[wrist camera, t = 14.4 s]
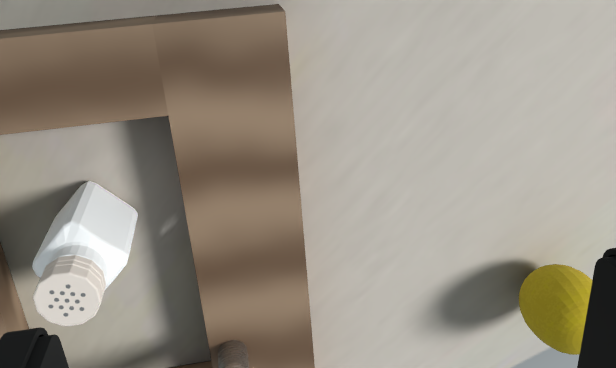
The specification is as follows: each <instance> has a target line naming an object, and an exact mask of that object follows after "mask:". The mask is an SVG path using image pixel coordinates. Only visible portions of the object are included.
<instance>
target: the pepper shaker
mask: <svg viewBox="0 0 616 368" xmlns="http://www.w3.org/2000/svg"><path fill="white" fill-rule="evenodd" d="M137 217H138V213H137V211H136V210H135V209H134V208H133V207H132V206H130V205H129V204H127V203H126V202H124V201H123V200H121V199H119V198H118V197H116V196H115V195H113V194H112V193H110V192H109V191H107V190H106V189H104V188H103V187H101V186H100V185H98V184H97V183H95V182H92V181H88V182H86V183H84V184H82V185H81V186H80V187H79V189H78V190H77V191H76V192H75V193H74V195H73V196H72V197H71V198H70V200H69V201H68V202H67V203H66V204H65V206H64V207H63V208H62V209H61V210H60V212H59V213H58V214H57V215H56V217H55V218H54V220H53V222H52V224H51V226H50V228H49V230H48V232H47V234H46V236H45V238H44V240H43V242H42V244H41V246H40V248H39V250H38V252H37V254H36V256H35V258H34V260H33V266H32V268H33V270H34V271H35V273H36V275H37V276H38V277H40V280H39V283H38V285H37V287H36V290H35V292H34V295H33V300H34V304H35V307H36V311H37V312H38V313H39V314H40V315H42V316H43V317H44V318H45V319H46V320H47V321H48V322H51V323H55V324H58V325H62V326H73V325H81V324H83V323H85V322H86V321H88V320H89V319H91V318H92V317H94V316H95V315H96V313H97V311H98V309H99V306H100V304H101V302H102V298H103V294H104V290H105V289H106V288H107V287H108V286H109V285H110V284H111V283H112V281H113V280H114V279H115V278H116V277H117V275H118V274H119V273H120V272H121V270H122V269H123V268H124V267H125V265H126V264H127V261H128V257H129V253H130V249H131V244H132V239H133V235H134V230H135V226H136V221H137Z"/></svg>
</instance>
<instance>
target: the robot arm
mask: <svg viewBox="0 0 616 368" xmlns="http://www.w3.org/2000/svg"><path fill="white" fill-rule="evenodd" d="M0 368H69V367H68V363H67V360H66V357H65V354H64V351H63V348H62V345H61V342H60V339H59V337H58V336H57V335H49V336H48V334H47V331H46V330H45V329H44V328H34V329H27V330H19V331H12V332H6V333H5V334H3V336H2V337H1V338H0ZM577 368H616V248H612V249H609V250H607V251H606V252H605V253H604V255H603V258H601V259H598V261H597V262H596V265H595V269H594V275H593V281H592V286H591V292H590V298H589V303H588V309H587V315H586V321H585V326H584V332H583V338H582V343H581V349H580V355H579V361H578V366H577Z"/></svg>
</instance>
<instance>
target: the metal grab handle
mask: <svg viewBox="0 0 616 368" xmlns="http://www.w3.org/2000/svg"><path fill="white" fill-rule="evenodd" d="M218 368H249V361H248V351H247V347H246V345H245V344H244V343H243V342H241V341H239V340H229V341H226V342H224V343H223V344H222V345H221V346H220V347H219V349H218Z"/></svg>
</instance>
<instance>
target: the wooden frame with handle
mask: <svg viewBox="0 0 616 368" xmlns="http://www.w3.org/2000/svg"><path fill="white" fill-rule="evenodd" d="M161 116H169V122H170V128H171V134H172V139H173V145H174V151H175V156H176V162H177V168H178V173H179V179H180V185H181V190H182V196H183V202H184V207H185V213H186V219H187V225H188V230H189V236H190V242H191V247H192V253H193V259H194V264H195V270H196V276H197V281H198V287H199V293H200V298H201V304H202V310H203V316H204V321H205V327H206V333H207V338H208V344H209V350H210V355H211V361H208V362H202V363H195V364H189V365H183V366H177V367H171V368H218V349H219V347H220V346H221V345H222V344H223V343H224V342H226V341H229V340H239V341H241V342H243V343H244V344H245V345H246V347H247V351H248V361H249V368H315V366H314V354H313V342H312V330H311V318H310V306H309V294H308V282H307V270H306V258H305V245H304V233H303V221H302V209H301V197H300V185H299V173H298V161H297V149H296V137H295V125H294V113H293V101H292V89H291V76H290V64H289V52H288V40H287V28H286V16H285V11H284V10H283V8H282V7H281V6H280V5H279V4H275V5H265V6H254V7H243V8H233V9H222V10H212V11H201V12H190V13H180V14H169V15H159V16H148V17H137V18H127V19H116V20H105V21H95V22H84V23H74V24H63V25H52V26H42V27H31V28H21V29H10V30H0V135H3V134H12V133H21V132H29V131H38V130H47V129H56V128H64V127H73V126H82V125H91V124H100V123H108V122H117V121H126V120H135V119H143V118H152V117H161ZM27 329H29V327H28V324H27V321H26V318H25V315H24V312H23V309H22V306H21V303H20V300H19V297H18V294H17V291H16V288H15V285H14V282H13V279H12V276H11V273H10V270H9V267H8V264H7V261H6V258H5V255H4V252H3V249H2V246H1V243H0V338H1V337H2V336H3V334H5V333H6V332H12V331H19V330H27Z"/></svg>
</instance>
